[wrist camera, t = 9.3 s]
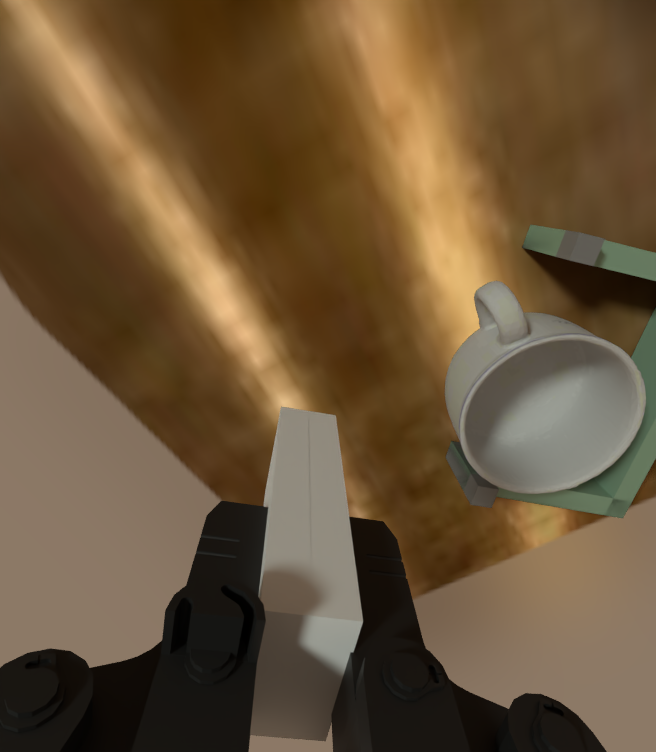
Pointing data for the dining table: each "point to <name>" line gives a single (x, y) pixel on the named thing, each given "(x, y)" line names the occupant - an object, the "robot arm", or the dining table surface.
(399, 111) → the dining table surface
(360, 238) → the dining table surface
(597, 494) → the tray
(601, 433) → the teacup
